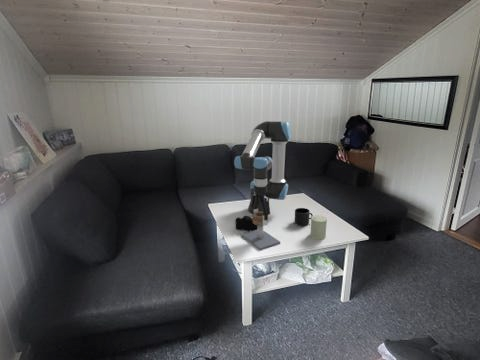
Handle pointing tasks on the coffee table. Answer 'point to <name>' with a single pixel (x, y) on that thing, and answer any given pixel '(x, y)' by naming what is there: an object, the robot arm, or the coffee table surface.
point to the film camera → (245, 224)
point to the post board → (262, 241)
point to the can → (318, 227)
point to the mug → (302, 216)
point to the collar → (258, 218)
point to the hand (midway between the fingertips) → (260, 222)
